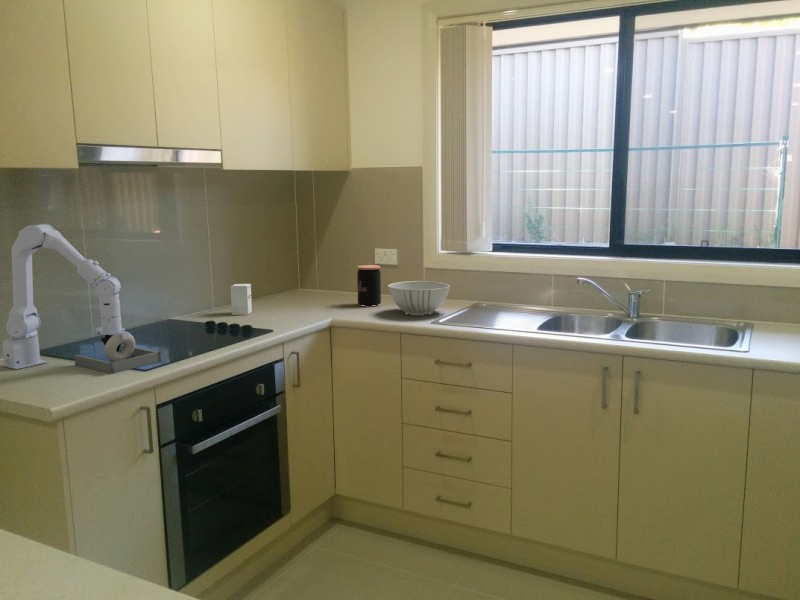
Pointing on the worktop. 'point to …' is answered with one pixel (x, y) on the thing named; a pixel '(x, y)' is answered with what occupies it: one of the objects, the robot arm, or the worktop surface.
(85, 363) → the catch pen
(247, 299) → the supplement box
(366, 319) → the worktop surface
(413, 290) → the decorative bowl
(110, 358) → the donut
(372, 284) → the coffee jar
